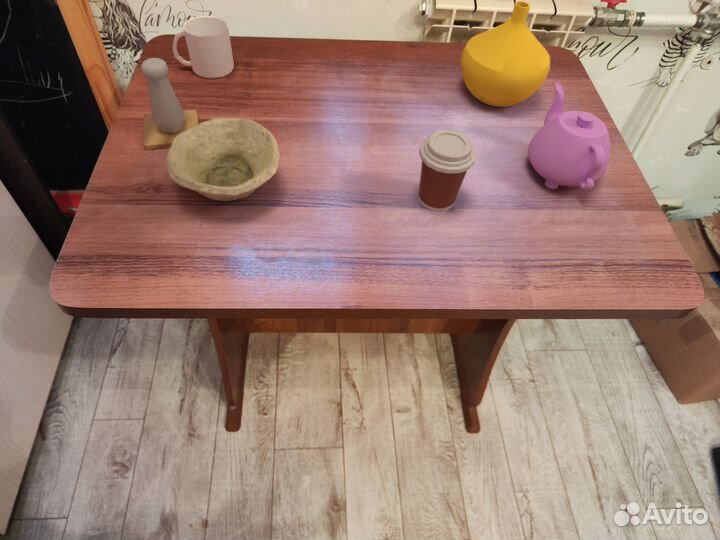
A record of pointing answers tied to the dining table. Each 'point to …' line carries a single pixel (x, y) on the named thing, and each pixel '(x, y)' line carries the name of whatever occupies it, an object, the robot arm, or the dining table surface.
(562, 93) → the teapot
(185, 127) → the wooden square board
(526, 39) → the vase
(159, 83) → the salt shaker
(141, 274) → the dining table surface
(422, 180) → the coffee cup
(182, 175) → the bowl
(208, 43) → the mug
